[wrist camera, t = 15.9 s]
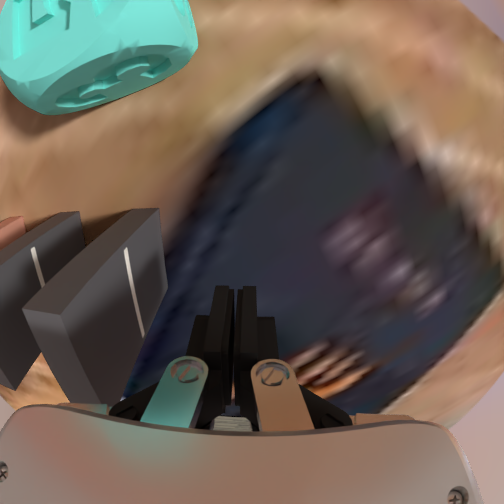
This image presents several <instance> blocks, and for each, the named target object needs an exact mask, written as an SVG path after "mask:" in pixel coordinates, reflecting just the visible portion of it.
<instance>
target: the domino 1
mask: <svg viewBox="0 0 504 504" xmlns="http://www.w3.org/2000/svg"><path fill="white" fill-rule="evenodd" d="M24 234H26V229H25V224H24V219H23V216H19V217H10V218H8V219H6V220H4V221H2V222H1V223H0V251H1V250H2V249H3V248H5V247H6V246H8V245H9V244H11V243H12V242H14V241H15V240H17V239H18V238H20V237H21V236H23V235H24Z"/></svg>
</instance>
